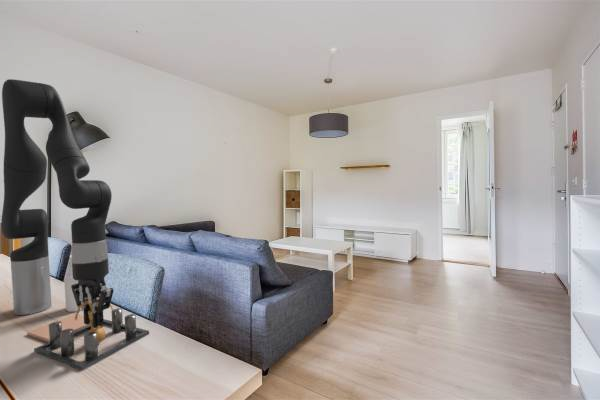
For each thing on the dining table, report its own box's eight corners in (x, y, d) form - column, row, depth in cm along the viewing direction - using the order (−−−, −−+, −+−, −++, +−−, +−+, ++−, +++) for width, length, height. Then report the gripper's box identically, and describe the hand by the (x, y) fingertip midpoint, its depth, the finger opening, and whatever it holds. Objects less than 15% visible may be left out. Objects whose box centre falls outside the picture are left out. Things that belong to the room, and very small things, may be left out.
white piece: (96, 305, 100) (93, 253, 99) (75, 313, 93) (72, 257, 92) (82, 302, 102) (79, 251, 101) (61, 310, 96) (57, 256, 95)
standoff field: (34, 351, 72) (32, 328, 71) (103, 321, 87) (102, 302, 87) (82, 370, 64) (80, 344, 64) (149, 333, 80) (148, 312, 80)
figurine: (78, 353, 71) (78, 305, 70) (71, 342, 75) (72, 297, 74) (116, 340, 77) (117, 296, 76) (109, 331, 81) (110, 289, 80)
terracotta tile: (27, 334, 80) (27, 331, 80) (75, 316, 91) (75, 313, 91) (50, 342, 76) (50, 339, 76) (98, 322, 87) (98, 319, 87)
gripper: (57, 259, 74) (61, 325, 75) (92, 264, 68) (96, 336, 69) (88, 252, 81) (91, 313, 82) (123, 257, 75) (126, 322, 76)
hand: (93, 323), depth 76 cm, fingers closed on figurine, 3 cm apart
